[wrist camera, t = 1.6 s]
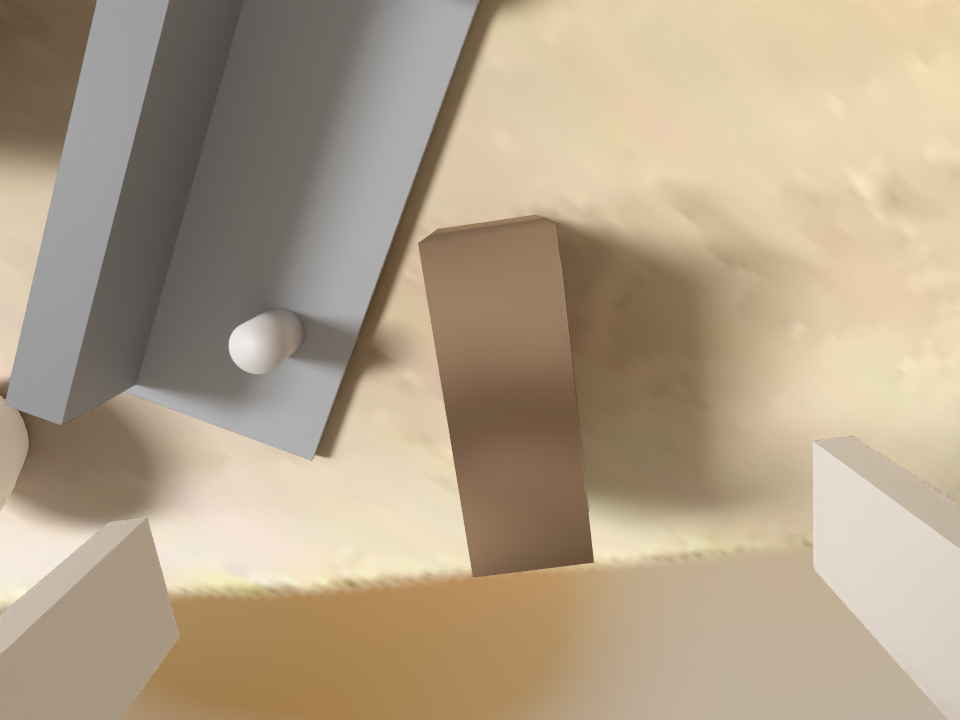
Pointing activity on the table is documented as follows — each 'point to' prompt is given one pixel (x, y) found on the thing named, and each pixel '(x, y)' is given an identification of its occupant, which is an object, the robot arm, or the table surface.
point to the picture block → (509, 392)
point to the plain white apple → (11, 449)
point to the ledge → (230, 205)
